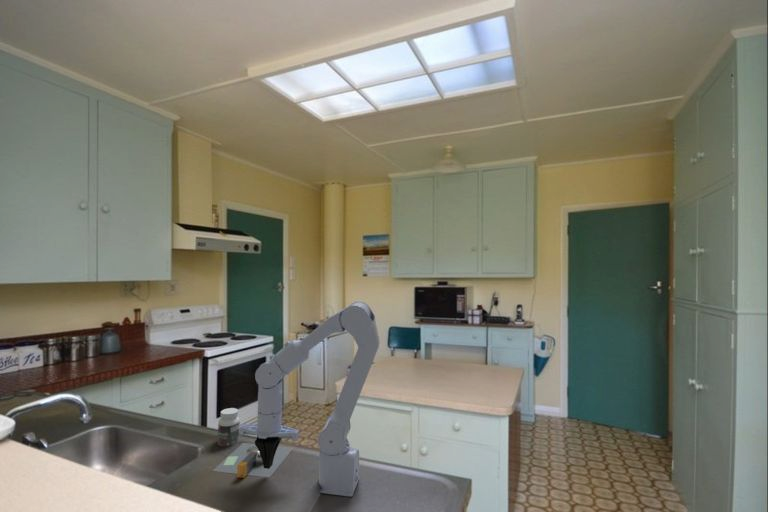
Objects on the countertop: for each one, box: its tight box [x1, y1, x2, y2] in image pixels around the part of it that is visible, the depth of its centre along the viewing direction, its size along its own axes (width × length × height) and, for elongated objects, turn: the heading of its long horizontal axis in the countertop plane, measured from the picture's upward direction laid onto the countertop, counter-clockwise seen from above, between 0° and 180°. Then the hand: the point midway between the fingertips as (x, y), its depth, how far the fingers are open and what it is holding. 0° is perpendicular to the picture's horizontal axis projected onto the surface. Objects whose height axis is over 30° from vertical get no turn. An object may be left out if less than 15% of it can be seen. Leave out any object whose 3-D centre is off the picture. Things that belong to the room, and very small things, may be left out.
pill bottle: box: [217, 407, 241, 447], centre depth 112 cm, size 6×6×10 cm
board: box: [212, 442, 294, 479], centre depth 103 cm, size 15×15×1 cm
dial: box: [236, 446, 263, 479], centre depth 99 cm, size 6×12×3 cm, turn 171°
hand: (268, 466), depth 95 cm, fingers closed
